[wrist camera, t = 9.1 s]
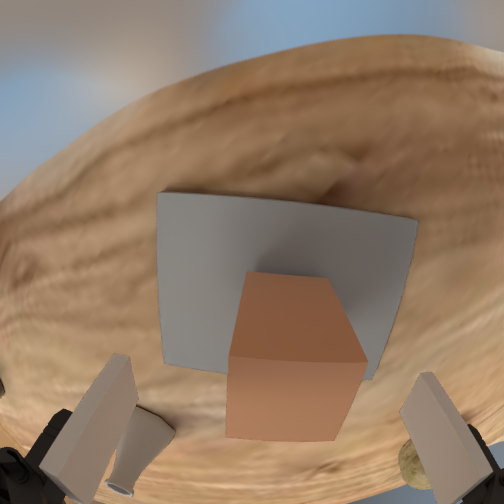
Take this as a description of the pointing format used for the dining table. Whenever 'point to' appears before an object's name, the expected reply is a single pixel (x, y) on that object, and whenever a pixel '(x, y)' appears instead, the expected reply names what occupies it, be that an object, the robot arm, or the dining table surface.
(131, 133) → the dining table surface
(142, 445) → the flask
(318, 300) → the peach square-faced block
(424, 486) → the decorative object
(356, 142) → the dining table surface
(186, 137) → the dining table surface
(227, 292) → the grey flat base
